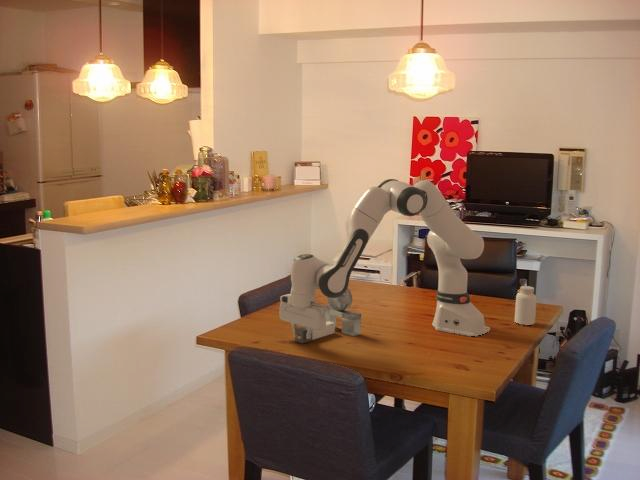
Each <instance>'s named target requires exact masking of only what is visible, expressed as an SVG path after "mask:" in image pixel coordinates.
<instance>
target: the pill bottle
mask: <svg viewBox="0 0 640 480" xmlns="http://www.w3.org/2000/svg"><path fill="white" fill-rule="evenodd" d="M534 293H535V287H534V286H531V285H530V286H529V285H522V286H520V289H519V292H518V293H516V296H515V305H514V306H515V309H514V323H515V322H516V323H519V324H525V325H531V324H534V323H536V313H537V310H536V309H537V295H536V294H534ZM516 323H515V324H516ZM534 325H535V324H534Z"/></svg>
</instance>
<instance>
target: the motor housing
mask: <svg viewBox="0 0 640 480" xmlns="http://www.w3.org/2000/svg"><path fill="white" fill-rule="evenodd" d="M327 303H328V304H321V305H322V306H323V307H324V308H325V316H326V322H328V321H330V322H334V323H335V329H337V323H338V322H337V317H338V318H341V333H342V334H343V335H347V336H351V337H357V336H359V335H361V334H362V332H361V331H362V330H361V329H362V313H360V312H356V311H352V310H349V308H350V307H351V306H352V304H353V294H352V292H351V290H350V289H349V287H348V288H347V290H346V292H345V293H344V294H343V295H341V296H339V297H337V298H329V297H327Z"/></svg>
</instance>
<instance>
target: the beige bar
mask: <svg viewBox="0 0 640 480" xmlns="http://www.w3.org/2000/svg"><path fill="white" fill-rule="evenodd" d="M307 331H308V330H307V327H304V326H301V327H298V328H297V329H295V335H294V334H293V338H294V342H296V343H300V344H305V343H309V342H311V341H312V342H313V340H317V339H320V338H323V337H326V336H330V335H333V334H335V333H336V328H335V323H334V322H330V321H328V322H326V327H325V329H323V330H319V331H318V330H315V329H314V330H313V331H312V333H311V338H310V339H305V334H306V333H307Z"/></svg>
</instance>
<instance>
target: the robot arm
mask: <svg viewBox="0 0 640 480" xmlns="http://www.w3.org/2000/svg"><path fill="white" fill-rule="evenodd" d="M390 211H392V212H396V213H398V214H401V215H403V216H405V217H415V216H417V215H419V216H420V218H421V220H423V223H425V225H426V227H427V228H428V229H429V231H428V233H427V238H426V242H427V246H428V247H429V248H430V249H431V252H433V255H434V257H435V261H436V265H437V269H438V270H437V271H438V285H437V290H436V309H435V314H434V318H433V321H432V322H431V323H432V327H434V328H435V330H436V331H438V332H442V333H443V332H444V333H450V334H454V333H455V335H459V334H460V336H465V335H466V337H471V336H475V337H479V336H478V335H481V336H483V335H482V334H484V335H486V334H485V333H487V332H488V333H490V332H489V331H491V327H489V326H487V325H486V323H485V317H484V314H483V313H482V312H481V310H479V309H478V308H477V307H476V306H475V305H474V304H473V303H472V302H471V299H472V298H474V297H473V296H474V295H473V294H469V292H468V291H467V290H468V275H469V274H468V271H467V269H466V267H464V265H463V264H462V261H461V259H463V260H474V259H478V258H479V257H481V256H482V254H483V252H484V248H485V242H484V241H485V240H484V238H483V236H481V235H480V234H478V233H477V232H475V231H474V230H472V229H471V228H470V227H469V226H468V225H467V224H466V223H465V222H463V221H462V219H460V218H459V216H458V215H457V214H456V213H455V212H454V210H453V209H452V208H451V206H450V204H449V202H448V201H447V200H446V198H445V197H444V194H443V193H442V192H441V191H440V190H439V189H438V187H437V186H436V185H435V184H434V183H433V182H431V181H430V180H425V179H424V180H420V181H418V182H417V183H415V184H414V185H412V184H409V183H407V182H403V181H401V180H398V179H394V178H388V179H386V180H383V181H381V183H380V184H379V185H378V186H370V187H368V188H367V190H366V191H365V192H363V194H362V195H361V196H360V197H359V199H358V200H357V201H356V203H355V204H354V206H353V207H352V209H351V210H350V212H349V214H348V216H347V218H346V221H345V231H346V242H345V245H344V247H343V250H342V251H341V253H340V255H339V256H338V258H337V260H336V261H335V262H334V263H335V264H334V263H333V264H332V263H330V262H326V261H325V260H324V261H323V260H321V259H319V258H317V257H316V256H315V255H314V254H310V253H308V254H307V253H304V254H301V255H298V256H296V257H295V258H294V259H292V262H291V263H292V264H291V272H290V281H291V289H290V293H287V294H284V295H281V296H279V297H280V298H279V300H280V303H279V311H278V312H279V314H278V315H279V318H280V320H281V321H285V322H286V323H290V325H291V328H292V331H293V336H294V335H295V329H297V328H299V327H298V326H301V327H307V330H308V331H307V333H306V334H305V339H310V338H311V333H312V331H313V330H314V329H315V330H318V331H319V330H323V329H325V327H326V316H325V308H324V307H323V306H322V305H323V304H321V303H317V302H316V290H320V291H321V293H322V295H324V296H325V297H327V298H328V297H329V298H337V297H339V296H341V295H343V294H344V293H345V292H346V290H347V288H348V289H349V283H350V278H351V275H352V272H353V271H354V269H355V267H356V265H357V263H358V261H359V259H360V258H361V256H362V254H363V253H364V250H365V248H366V246H367V244H368V243H369V241H370V239H371V238H372V236H373V235H374V233H375V231H376V230H377V228H378V227H379V226H380V224H381V222H382V220H383V218H384V217H385V215H386V214H387V213H388V212H390ZM488 333H487V334H488Z"/></svg>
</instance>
